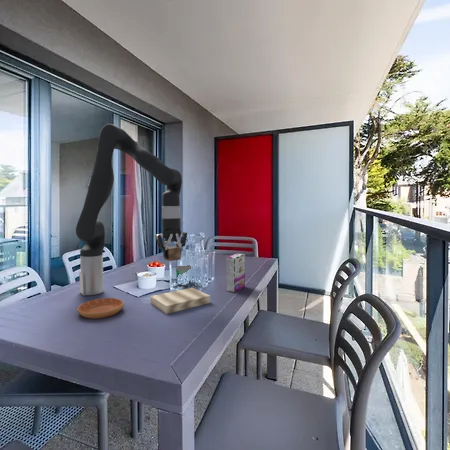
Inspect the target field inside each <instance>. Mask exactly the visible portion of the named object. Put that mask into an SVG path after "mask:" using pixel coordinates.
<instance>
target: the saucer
mask: <svg viewBox="0 0 450 450" xmlns="http://www.w3.org/2000/svg"><path fill="white" fill-rule="evenodd" d="M124 305H125V303H124V301H123V300H122V299H120V298H116V297H115V298H114V297H103V298H97V299H92V300H89V301H86V302H83V303H81V304H79V306H78V307H77V313H78V314H79V315H80V316H82V317H83V318H86V319H90V320H91V319H93V320H95V319H96V320H98V319H103V318H109V317H112V316H115V315H116V314H118V313H119V312H120V311H121V310H122V309H123V308H124Z"/></svg>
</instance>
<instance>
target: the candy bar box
mask: <svg viewBox="0 0 450 450" xmlns="http://www.w3.org/2000/svg"><path fill="white" fill-rule="evenodd" d="M225 262H226V263H225V267H226V269H225V272H226V273H225V276H226V279H225V284H226V286H225V288H226V289H225V291H226V292H230V293H231V292H232V293H236V292H238V291H239V290H241V289H243V288H245V287H246V254H245V253H235V254H231V255H229V256H226V257H225Z"/></svg>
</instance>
